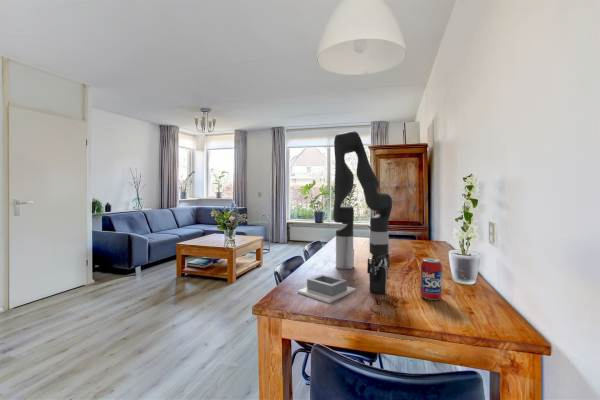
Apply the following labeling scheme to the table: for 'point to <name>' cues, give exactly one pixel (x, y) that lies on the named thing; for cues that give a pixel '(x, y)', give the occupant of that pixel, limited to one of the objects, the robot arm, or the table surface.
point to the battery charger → (380, 280)
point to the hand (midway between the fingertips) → (378, 281)
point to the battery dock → (325, 297)
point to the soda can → (431, 279)
